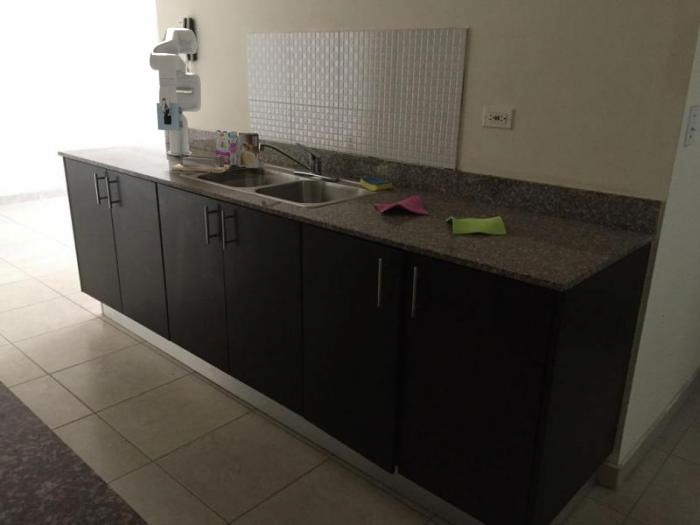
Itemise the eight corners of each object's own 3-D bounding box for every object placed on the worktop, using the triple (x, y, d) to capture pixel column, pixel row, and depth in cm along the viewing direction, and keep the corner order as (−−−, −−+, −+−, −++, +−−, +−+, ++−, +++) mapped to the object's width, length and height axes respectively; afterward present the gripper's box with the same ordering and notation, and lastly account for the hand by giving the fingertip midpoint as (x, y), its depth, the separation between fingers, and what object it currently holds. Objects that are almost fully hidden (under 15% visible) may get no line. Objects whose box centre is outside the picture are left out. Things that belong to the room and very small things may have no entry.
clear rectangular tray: (184, 164, 284) (183, 151, 281) (230, 167, 282) (230, 154, 280) (172, 170, 269) (171, 155, 267) (221, 173, 268) (220, 158, 265)
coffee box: (257, 165, 290) (257, 132, 285) (259, 168, 285) (259, 134, 279) (238, 165, 288) (238, 132, 283) (240, 168, 282) (239, 134, 277)
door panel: (161, 128, 278) (160, 102, 274) (184, 130, 277) (183, 103, 273) (158, 129, 274) (156, 103, 270) (181, 131, 273) (180, 104, 269)
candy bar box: (237, 165, 288) (237, 131, 283) (229, 166, 285) (228, 132, 279) (224, 162, 295) (223, 128, 290) (215, 163, 292) (215, 129, 287)
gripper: (167, 82, 277) (169, 122, 283) (151, 82, 261) (154, 125, 267) (183, 82, 276) (184, 122, 282) (168, 83, 260) (170, 125, 266)
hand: (170, 123), depth 274 cm, fingers closed on door panel, 4 cm apart
